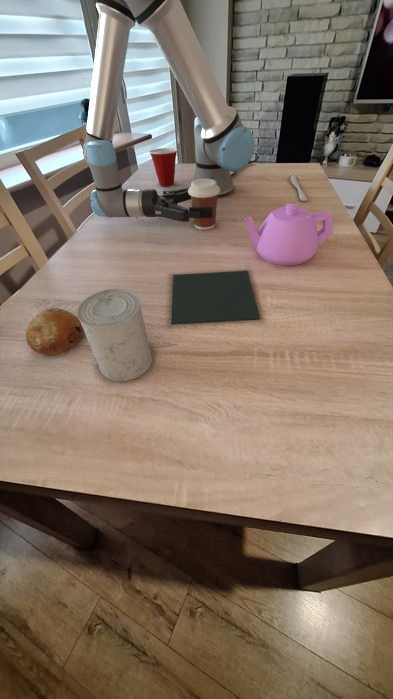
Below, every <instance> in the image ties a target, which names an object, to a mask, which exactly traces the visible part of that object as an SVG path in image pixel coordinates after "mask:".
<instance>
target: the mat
mask: <svg viewBox="0 0 393 699" xmlns="http://www.w3.org/2000/svg"><path fill="white" fill-rule="evenodd" d="M249 275H250V274H249V272H248V270H236V271H235V270H233V271H217V272H199V273H197V272H196V273H182V274H173V276H172V295H171V297H172V299H171V316H170V317H171V318H170V324H171V325H180V324H181V325H182V324H200V323H201V324H202V323H218V322H236V321H237V322H238V321H240V322H241V321H258V320H261V316H260V312H259V309H258V305H257V301H256V299H255V294H254V291H253V287H252V282H251V279H250V276H249Z"/></svg>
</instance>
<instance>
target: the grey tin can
mask: <svg viewBox="0 0 393 699" xmlns="http://www.w3.org/2000/svg"><path fill="white" fill-rule="evenodd" d="M140 299H141V298H139V296H138V295H137V294H136V293H135V292H133V291H131V290H128V289H125V288H107V289H103V290H99V291H96V292H95V293H92V294H91V295H89V296H87V297H85V298H84V299H83V300H82V301H81V302H80V304H79V305H78V307H77V309H76V316H77V317H78V319H79V320H80V322H81V325H82V327H83V329H84V330H83V333H84V335H85V336H86V340H87V341H88V344H89V346H90V348H91V350H92V353H93V355H94V358H95V360H96V363H97V364H98V368H99V371H100V372H101V374H102V376H104V377H105V378H106V379H108V380H111V381H113V382H126V381H131V380H134V379H137V378H138V377H140V376H141V375H143V374H145V372H147V370H148V369H149V368H150V366H151V364H152V361H153V353H152V351H151V347H150V342H149V338H148V333H147V329H146V325H145V320H144V315H143V311H142V306H141V300H140Z"/></svg>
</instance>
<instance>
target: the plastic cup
mask: <svg viewBox="0 0 393 699" xmlns="http://www.w3.org/2000/svg"><path fill="white" fill-rule="evenodd" d="M148 153H149V155H150V157H151V160H152V162H153V166H154V167H153V168H154V170H155V174H156V177H157V180H158V184H159V186H161V187H171V186H173V185H174V184H175V183H174V182H175V175H176V160H177V153H178V148H176V147H160V148H152V149H149V150H148Z"/></svg>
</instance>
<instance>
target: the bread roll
mask: <svg viewBox="0 0 393 699" xmlns="http://www.w3.org/2000/svg"><path fill="white" fill-rule="evenodd" d="M83 334H84V329H83V327H82V325H81V322H80V320H79V319H78V316H77V315H76V314H74V313H72V312H71V311H68V310H66V309H62V308H58V307H51V306H50V307H46V308H43V309H41V310H40V311H39V312H37V313H35V315H33V316H32V317H31V320H30V321H29V323H28V325H27V327H26V329H25V340H26V343H27V344H28V346H29V347H30V349H31V350H32V351H34V352H35V353H37V354H40V355H45V356H53V355H57V354H60V353H64V352H67V351H69V350H71V349H72V348H74V347H75V346H76V345H78V344H79V342H80V341H81V340H82V337H83Z"/></svg>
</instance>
